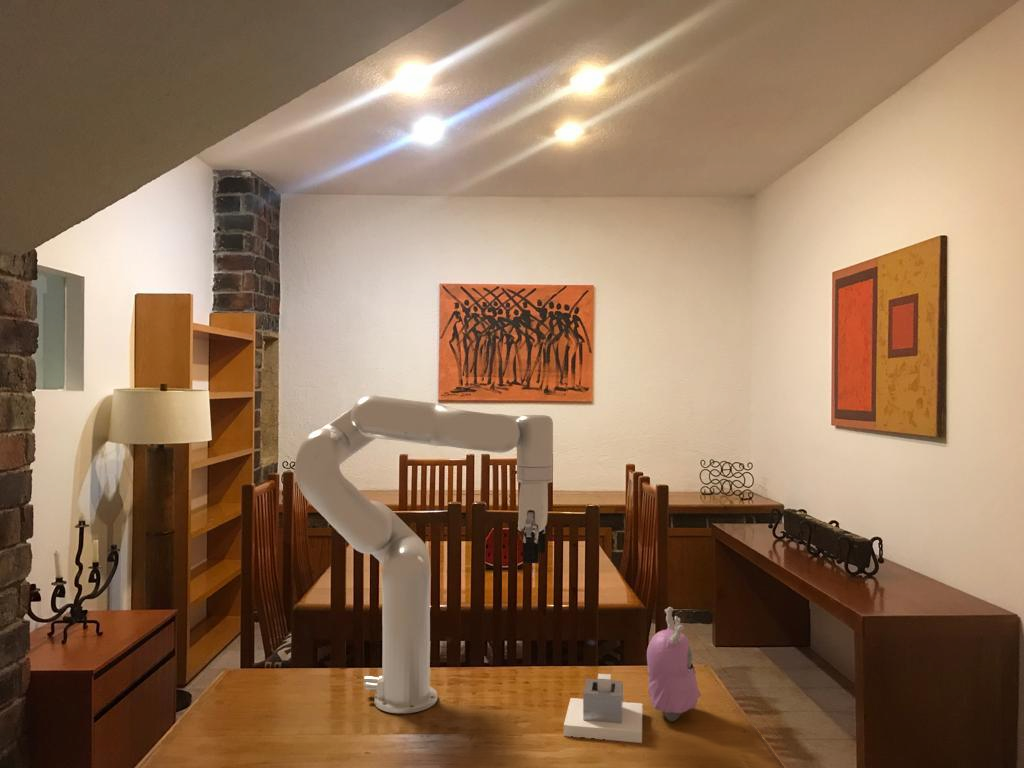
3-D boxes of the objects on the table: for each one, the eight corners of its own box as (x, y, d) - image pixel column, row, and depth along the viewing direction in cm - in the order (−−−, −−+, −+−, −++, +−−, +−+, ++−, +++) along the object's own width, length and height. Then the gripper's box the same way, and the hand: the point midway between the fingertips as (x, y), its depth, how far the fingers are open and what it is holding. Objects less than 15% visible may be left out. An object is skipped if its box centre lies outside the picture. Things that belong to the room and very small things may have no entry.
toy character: (702, 731, 135) (702, 622, 135) (646, 725, 137) (646, 618, 137) (699, 703, 147) (699, 603, 147) (647, 699, 149) (647, 600, 149)
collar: (583, 720, 135) (583, 693, 135) (586, 704, 142) (586, 678, 142) (621, 723, 133) (621, 696, 133) (622, 707, 140) (622, 681, 140)
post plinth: (563, 736, 133) (563, 686, 133) (570, 708, 145) (570, 662, 145) (641, 742, 130) (641, 692, 130) (642, 713, 142) (642, 667, 142)
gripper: (523, 469, 161) (523, 547, 160) (509, 479, 144) (509, 566, 143) (557, 470, 159) (557, 549, 159) (547, 479, 142) (547, 568, 142)
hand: (534, 557), depth 151 cm, fingers open, 9 cm apart
